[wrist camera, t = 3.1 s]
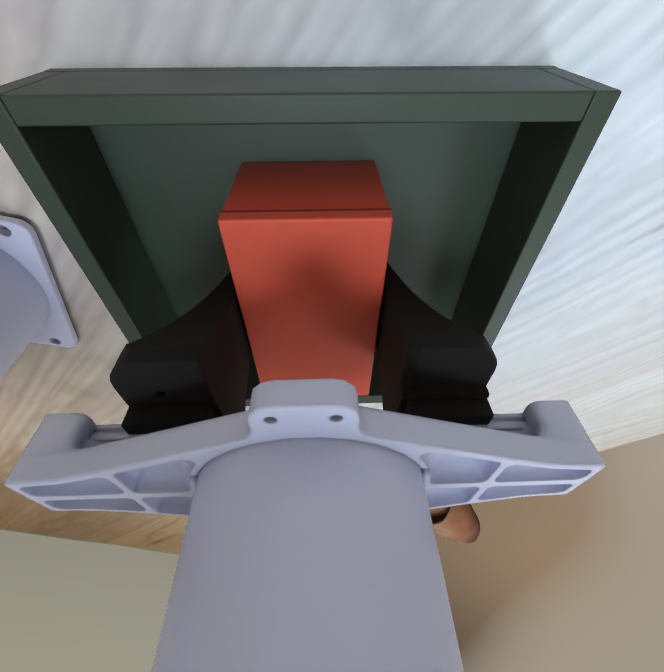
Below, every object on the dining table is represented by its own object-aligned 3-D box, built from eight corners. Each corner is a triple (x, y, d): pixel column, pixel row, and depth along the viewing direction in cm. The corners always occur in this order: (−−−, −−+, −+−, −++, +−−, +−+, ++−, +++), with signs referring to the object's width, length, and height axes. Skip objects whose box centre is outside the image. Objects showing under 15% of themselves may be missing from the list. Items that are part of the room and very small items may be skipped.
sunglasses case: (371, 483, 36) (413, 539, 31) (419, 438, 37) (468, 487, 32) (416, 523, 48) (451, 569, 43) (452, 489, 49) (491, 530, 44)
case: (272, 331, 19) (263, 398, 16) (240, 160, 13) (215, 219, 9) (361, 329, 19) (369, 396, 16) (375, 159, 13) (394, 217, 10)
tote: (188, 357, 21) (170, 408, 19) (50, 68, 11) (-32, 95, 8) (446, 351, 22) (464, 400, 19) (553, 65, 11) (623, 90, 9)
